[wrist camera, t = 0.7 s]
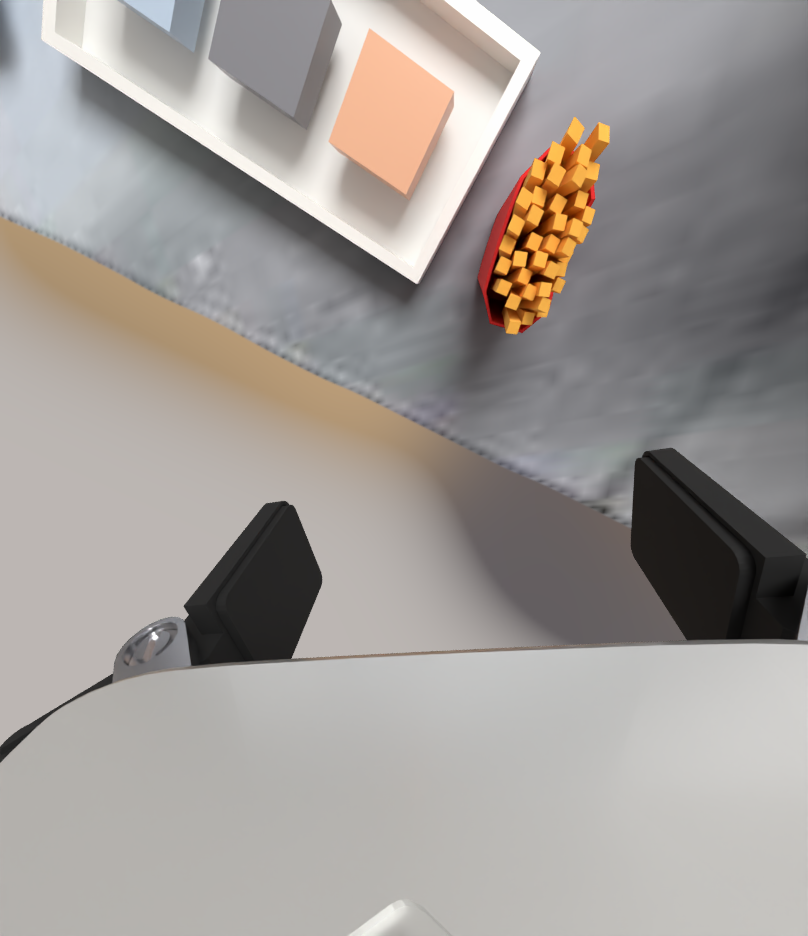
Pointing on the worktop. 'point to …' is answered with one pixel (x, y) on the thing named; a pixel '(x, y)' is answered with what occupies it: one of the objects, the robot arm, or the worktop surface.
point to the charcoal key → (277, 50)
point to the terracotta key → (391, 115)
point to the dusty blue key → (171, 17)
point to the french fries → (540, 230)
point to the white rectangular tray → (321, 109)
